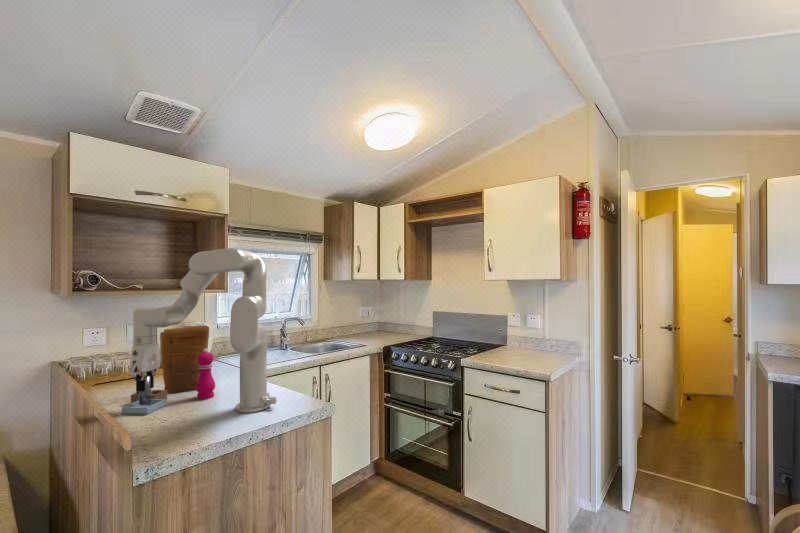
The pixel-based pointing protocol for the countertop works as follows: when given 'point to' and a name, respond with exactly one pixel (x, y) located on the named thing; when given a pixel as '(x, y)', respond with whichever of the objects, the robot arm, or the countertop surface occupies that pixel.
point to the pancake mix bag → (182, 356)
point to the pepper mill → (205, 376)
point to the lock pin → (145, 395)
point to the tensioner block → (154, 395)
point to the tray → (144, 407)
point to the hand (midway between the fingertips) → (145, 389)
